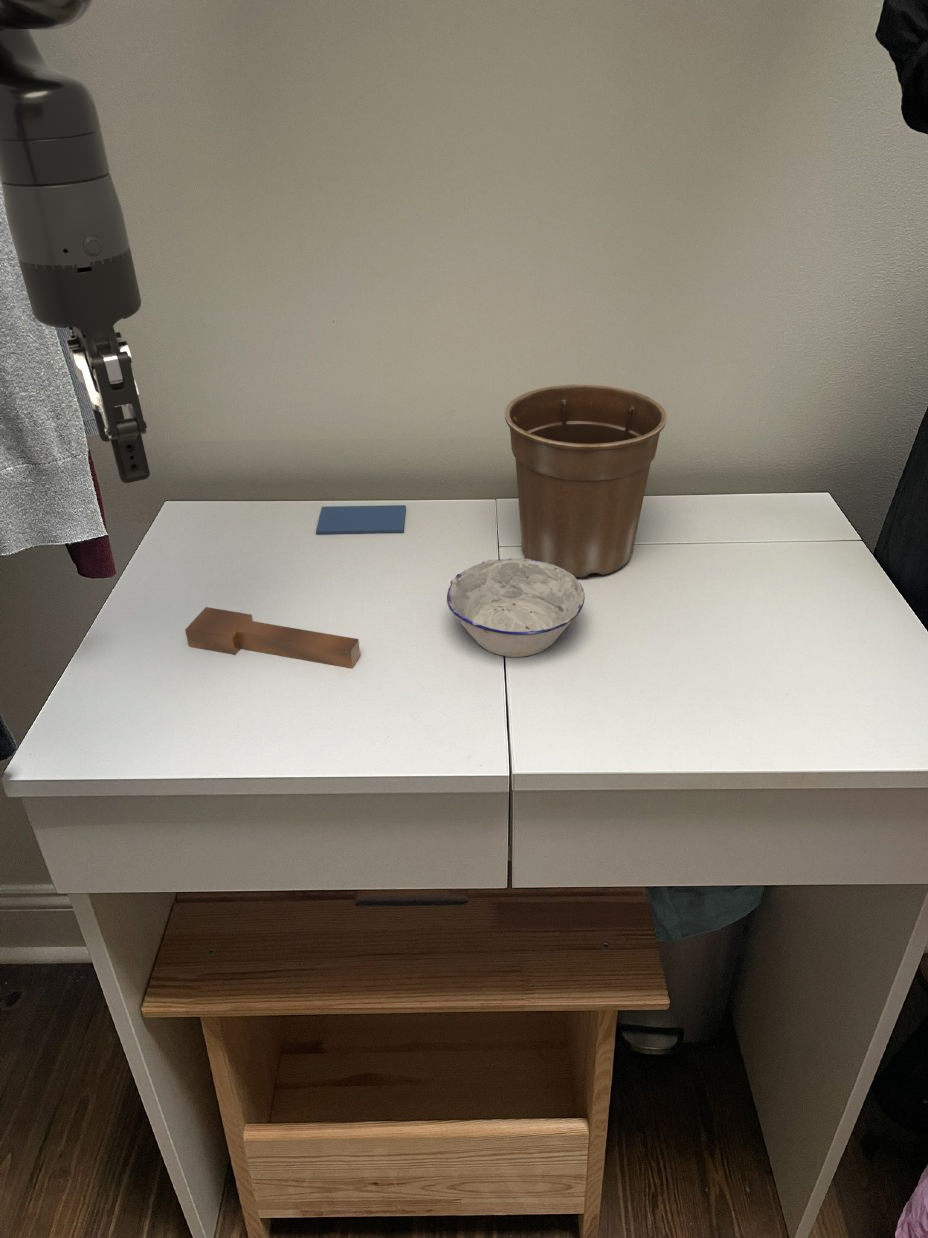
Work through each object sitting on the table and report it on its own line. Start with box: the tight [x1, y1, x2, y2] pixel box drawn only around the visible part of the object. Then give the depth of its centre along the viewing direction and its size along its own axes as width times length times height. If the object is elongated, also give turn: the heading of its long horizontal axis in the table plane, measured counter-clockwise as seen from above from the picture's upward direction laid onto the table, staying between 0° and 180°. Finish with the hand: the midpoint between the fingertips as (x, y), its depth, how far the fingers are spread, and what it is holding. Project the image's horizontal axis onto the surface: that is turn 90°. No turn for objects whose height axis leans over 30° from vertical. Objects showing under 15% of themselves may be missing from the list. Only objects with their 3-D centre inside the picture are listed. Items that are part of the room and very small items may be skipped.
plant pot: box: [504, 383, 668, 578], centre depth 100 cm, size 16×16×16 cm
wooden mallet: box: [184, 606, 361, 669], centre depth 90 cm, size 16×4×2 cm, turn 73°
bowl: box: [446, 558, 586, 658], centre depth 90 cm, size 13×13×5 cm
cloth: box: [315, 504, 407, 535], centre depth 110 cm, size 10×6×1 cm, turn 90°
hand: (124, 458), depth 75 cm, fingers open, 8 cm apart
